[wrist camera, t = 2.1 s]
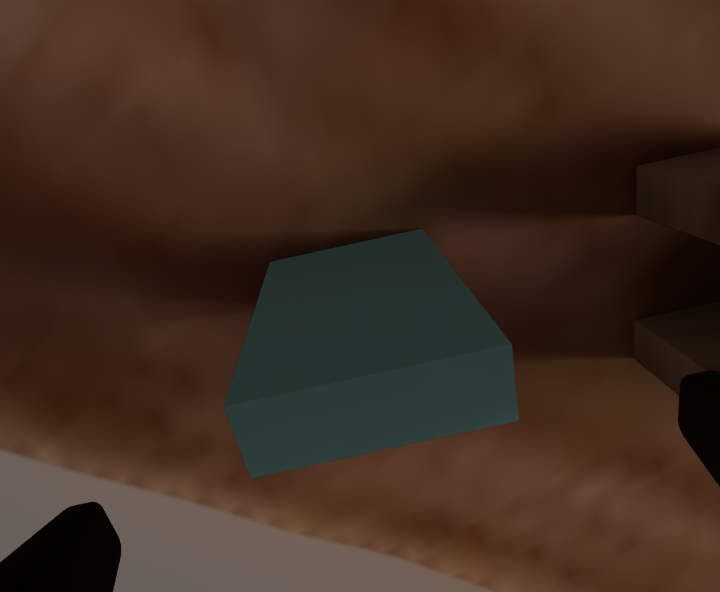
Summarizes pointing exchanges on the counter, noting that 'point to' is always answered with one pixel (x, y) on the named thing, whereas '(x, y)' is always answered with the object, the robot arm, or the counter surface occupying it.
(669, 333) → the walnut domino
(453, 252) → the counter surface
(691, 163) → the walnut domino
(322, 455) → the teal domino
